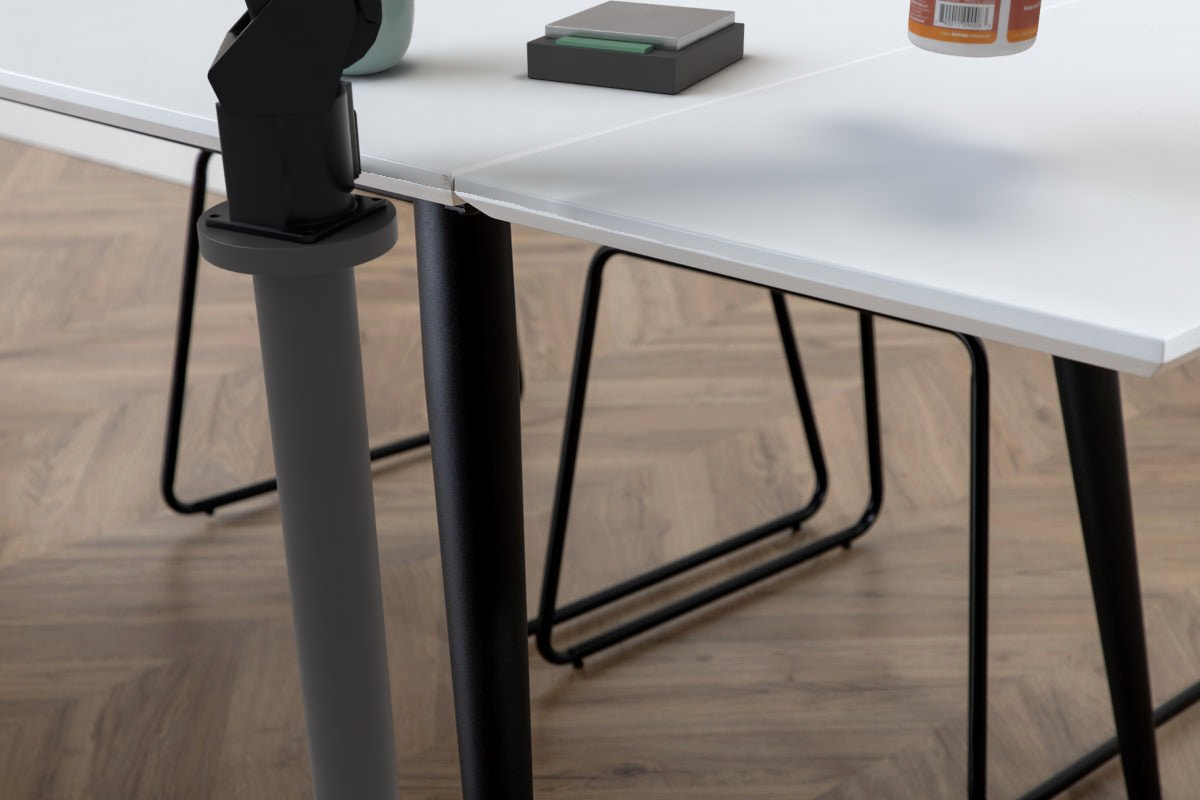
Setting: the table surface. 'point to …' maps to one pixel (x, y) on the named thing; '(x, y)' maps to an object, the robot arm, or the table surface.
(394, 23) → the cup
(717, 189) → the table surface
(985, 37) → the pill bottle
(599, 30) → the kitchen scale
